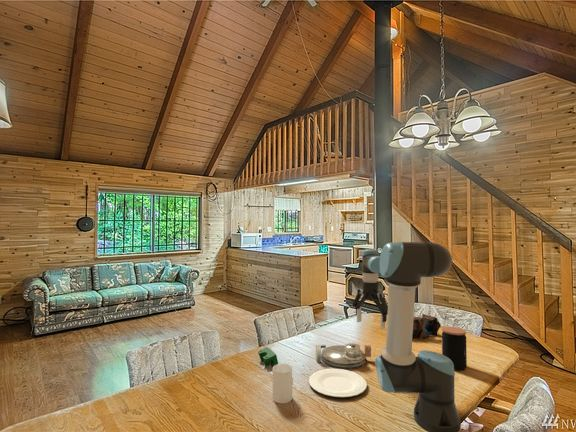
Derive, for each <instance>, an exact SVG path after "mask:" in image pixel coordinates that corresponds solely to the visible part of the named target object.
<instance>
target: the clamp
mask: <svg viewBox="0 0 576 432" xmlns="http://www.w3.org/2000/svg"><path fill="white" fill-rule="evenodd" d="M257 354H258V356H259V358H260V359H259V360H260V362H261V363H262V362H263V363H264V366H265V367H267V366H269V365H271V364H272V365H273V367H274V366H275V365H277V364H279V362H278V361H279V360H278V357H277V354H276V353H275V352H274V350H272V349H271V348H270V347H268V346H265V347H264V348H261V349H259V350H258V351H257Z"/></svg>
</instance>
